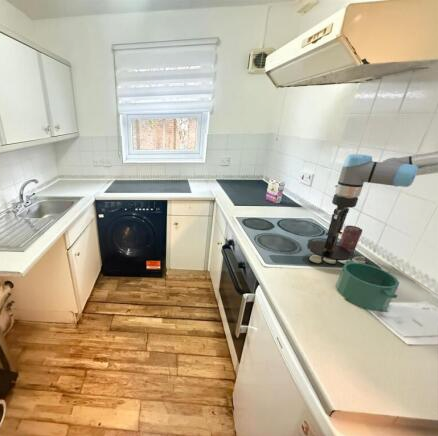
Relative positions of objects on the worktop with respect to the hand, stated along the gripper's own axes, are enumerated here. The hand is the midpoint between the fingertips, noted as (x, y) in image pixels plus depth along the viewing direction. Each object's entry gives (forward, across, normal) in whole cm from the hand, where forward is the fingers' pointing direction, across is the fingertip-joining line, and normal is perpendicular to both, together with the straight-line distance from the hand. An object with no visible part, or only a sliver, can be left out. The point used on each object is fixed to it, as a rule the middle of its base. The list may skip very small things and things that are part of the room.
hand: (329, 247), depth 101 cm
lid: (+1, 0, 0) cm, 1 cm away
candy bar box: (+8, -70, -55) cm, 89 cm away
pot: (+9, +13, +15) cm, 22 cm away
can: (+9, -18, +3) cm, 20 cm away
